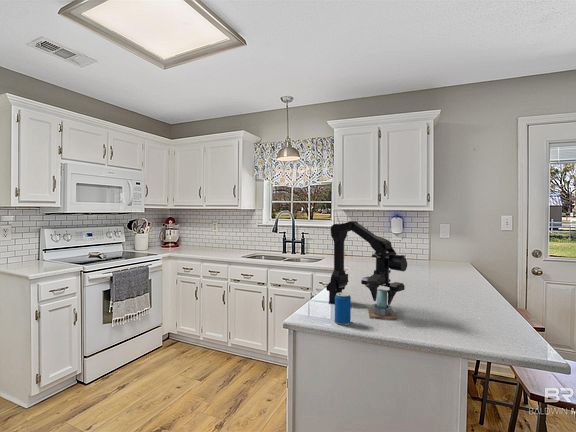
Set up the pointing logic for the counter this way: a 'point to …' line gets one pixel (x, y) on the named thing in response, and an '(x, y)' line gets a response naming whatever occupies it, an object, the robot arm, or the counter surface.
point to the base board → (371, 315)
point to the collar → (382, 310)
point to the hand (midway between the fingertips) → (381, 302)
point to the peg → (381, 298)
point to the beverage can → (342, 308)
